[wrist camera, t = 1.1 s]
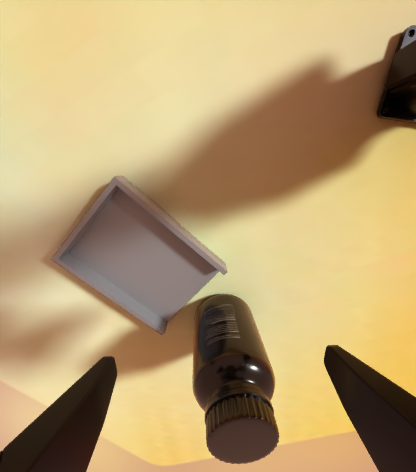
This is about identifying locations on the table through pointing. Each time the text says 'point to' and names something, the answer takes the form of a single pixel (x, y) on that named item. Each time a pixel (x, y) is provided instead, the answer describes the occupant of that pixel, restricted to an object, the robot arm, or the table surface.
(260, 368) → the supplement bottle
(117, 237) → the tray
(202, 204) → the table surface
